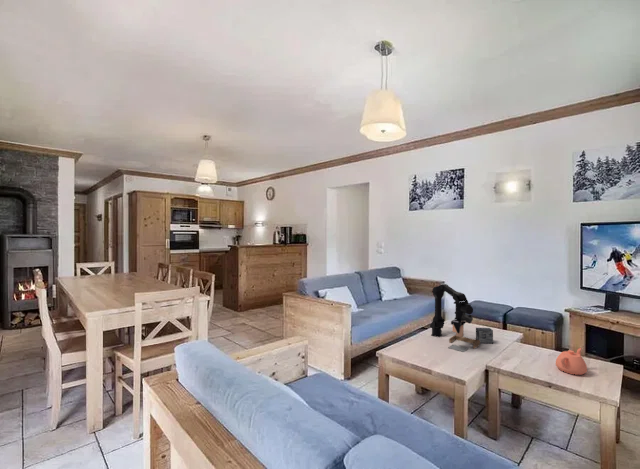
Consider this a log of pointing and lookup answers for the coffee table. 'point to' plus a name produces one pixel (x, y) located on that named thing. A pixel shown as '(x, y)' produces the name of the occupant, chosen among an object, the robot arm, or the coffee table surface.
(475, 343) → the holder
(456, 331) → the popsicle on stick
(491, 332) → the small box
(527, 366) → the coffee table surface
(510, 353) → the coffee table surface
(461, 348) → the mat
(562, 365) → the orange rounded lump
